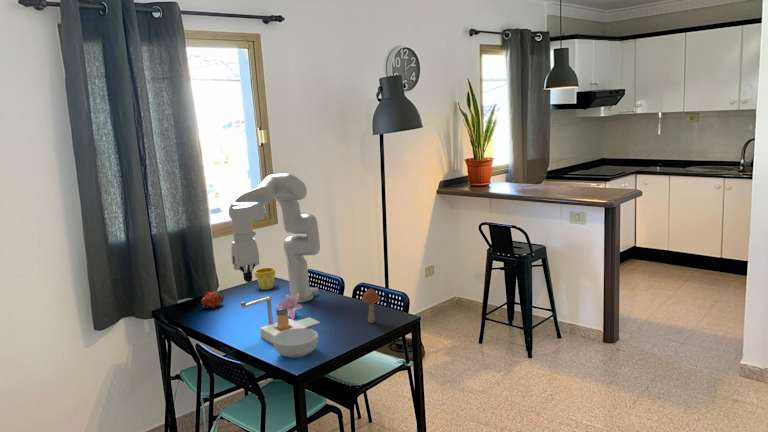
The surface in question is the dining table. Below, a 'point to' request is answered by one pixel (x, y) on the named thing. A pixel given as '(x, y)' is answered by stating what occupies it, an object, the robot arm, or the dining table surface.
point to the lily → (290, 304)
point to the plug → (282, 318)
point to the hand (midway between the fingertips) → (248, 281)
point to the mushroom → (371, 303)
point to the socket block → (276, 326)
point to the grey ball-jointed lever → (254, 302)
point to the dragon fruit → (212, 299)
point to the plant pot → (265, 277)
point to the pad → (308, 322)
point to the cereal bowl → (295, 342)
